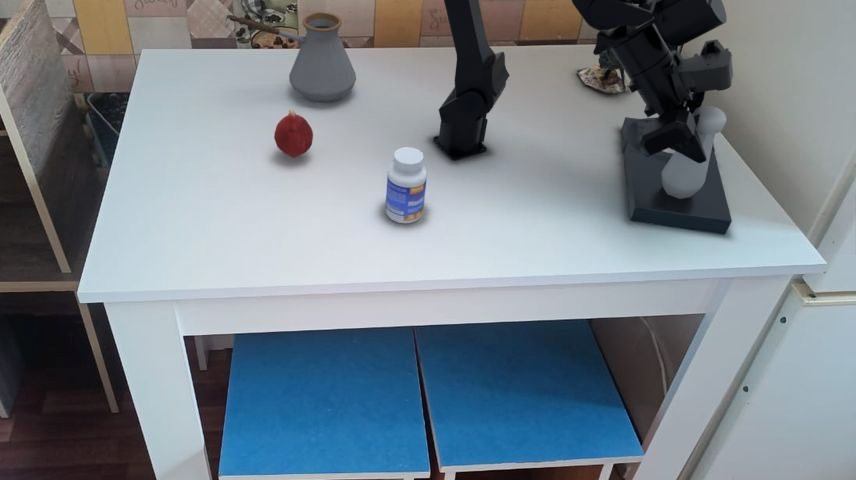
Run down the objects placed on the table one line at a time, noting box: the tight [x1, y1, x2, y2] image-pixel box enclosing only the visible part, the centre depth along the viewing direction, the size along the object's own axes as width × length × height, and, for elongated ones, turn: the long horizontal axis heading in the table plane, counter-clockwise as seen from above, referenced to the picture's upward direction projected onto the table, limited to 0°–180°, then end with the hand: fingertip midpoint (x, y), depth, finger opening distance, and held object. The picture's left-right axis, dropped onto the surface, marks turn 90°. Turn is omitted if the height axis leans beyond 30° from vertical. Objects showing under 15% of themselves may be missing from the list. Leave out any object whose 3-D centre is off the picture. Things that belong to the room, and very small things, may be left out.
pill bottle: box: [384, 146, 428, 224], centre depth 101 cm, size 5×5×10 cm
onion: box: [273, 109, 314, 158], centre depth 110 cm, size 6×6×8 cm
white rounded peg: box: [661, 105, 728, 199], centre depth 101 cm, size 6×6×13 cm
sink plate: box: [620, 116, 733, 235], centre depth 111 cm, size 25×13×2 cm, turn 168°
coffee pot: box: [224, 11, 357, 104], centre depth 121 cm, size 21×12×15 cm, turn 102°
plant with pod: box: [576, 48, 629, 95], centre depth 124 cm, size 8×11×20 cm
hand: (704, 154), depth 100 cm, fingers closed on white rounded peg, 3 cm apart
